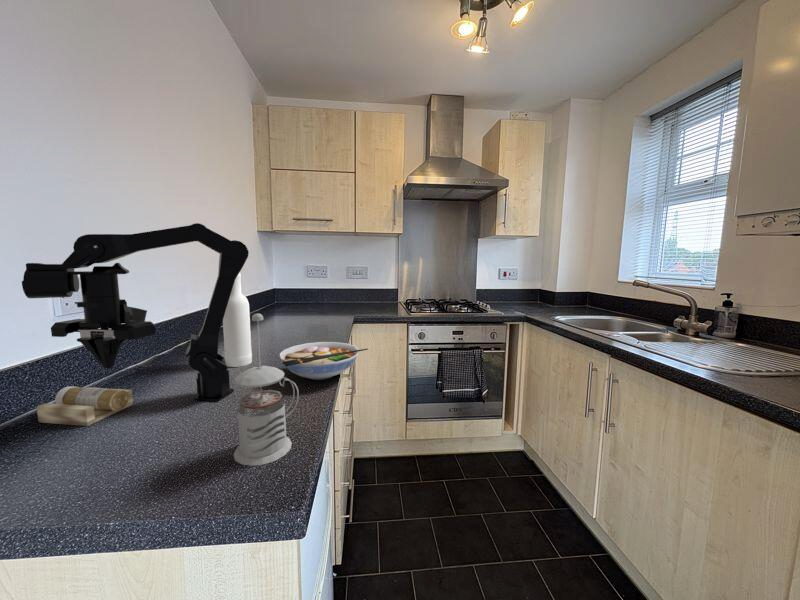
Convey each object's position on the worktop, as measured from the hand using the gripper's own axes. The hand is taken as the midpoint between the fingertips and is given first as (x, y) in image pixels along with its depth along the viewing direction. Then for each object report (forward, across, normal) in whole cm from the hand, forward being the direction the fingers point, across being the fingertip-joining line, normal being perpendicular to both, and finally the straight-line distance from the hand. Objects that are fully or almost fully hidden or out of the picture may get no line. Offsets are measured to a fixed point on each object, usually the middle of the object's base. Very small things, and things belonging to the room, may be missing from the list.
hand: (108, 368), depth 69 cm
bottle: (+11, -6, -36) cm, 38 cm away
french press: (+11, -40, +7) cm, 42 cm away
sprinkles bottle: (+8, -1, -1) cm, 8 cm away
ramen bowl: (+11, -36, -29) cm, 48 cm away
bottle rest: (+11, +6, 0) cm, 12 cm away
